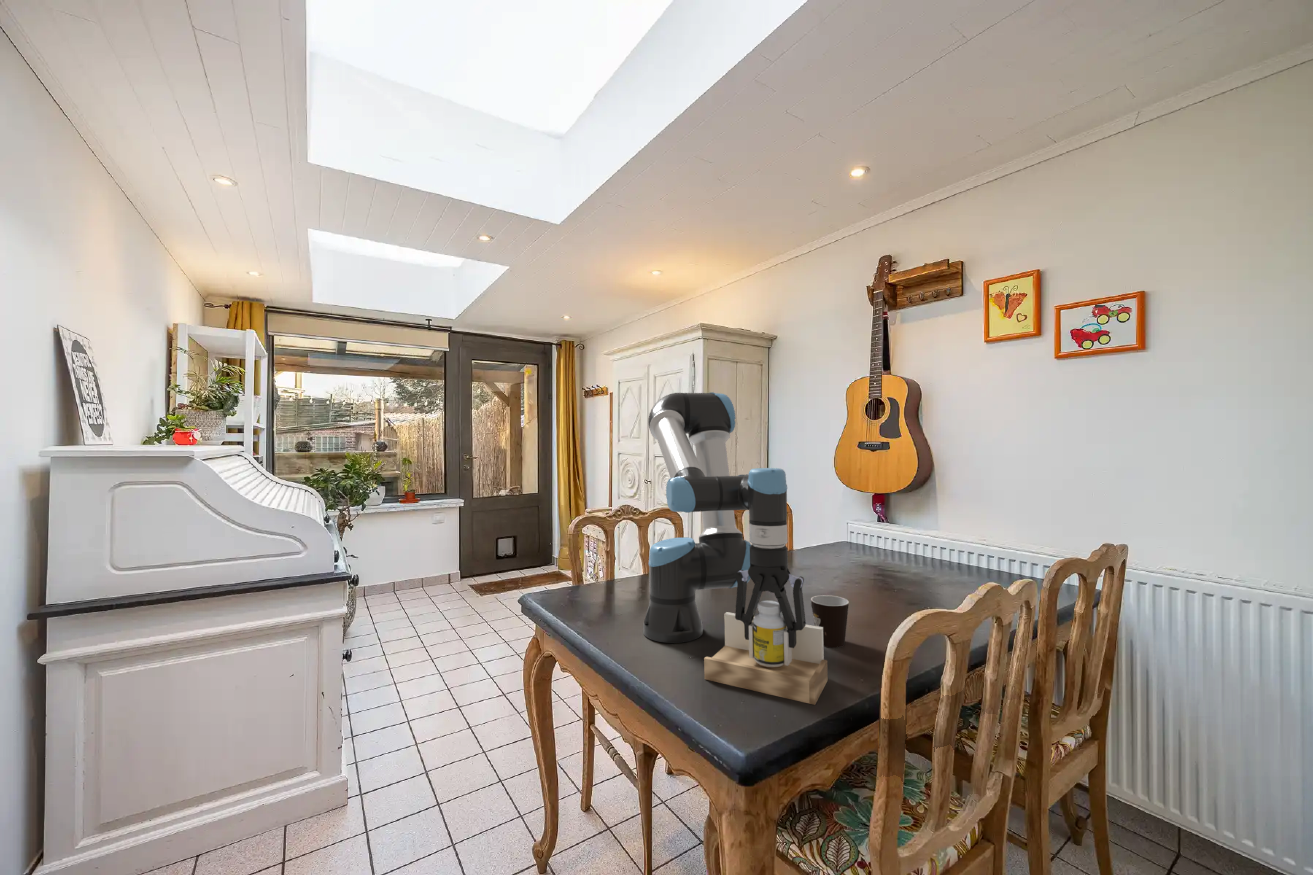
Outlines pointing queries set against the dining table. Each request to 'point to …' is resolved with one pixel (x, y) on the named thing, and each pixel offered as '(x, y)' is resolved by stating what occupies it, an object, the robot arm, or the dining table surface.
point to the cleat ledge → (767, 675)
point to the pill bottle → (769, 634)
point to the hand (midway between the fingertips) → (770, 659)
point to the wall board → (806, 639)
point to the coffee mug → (831, 618)
